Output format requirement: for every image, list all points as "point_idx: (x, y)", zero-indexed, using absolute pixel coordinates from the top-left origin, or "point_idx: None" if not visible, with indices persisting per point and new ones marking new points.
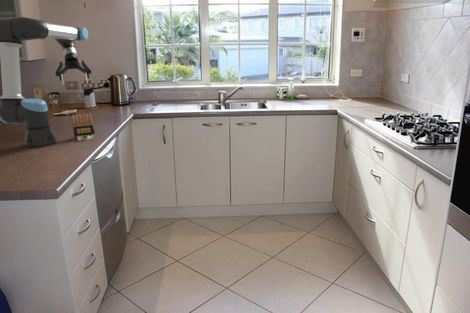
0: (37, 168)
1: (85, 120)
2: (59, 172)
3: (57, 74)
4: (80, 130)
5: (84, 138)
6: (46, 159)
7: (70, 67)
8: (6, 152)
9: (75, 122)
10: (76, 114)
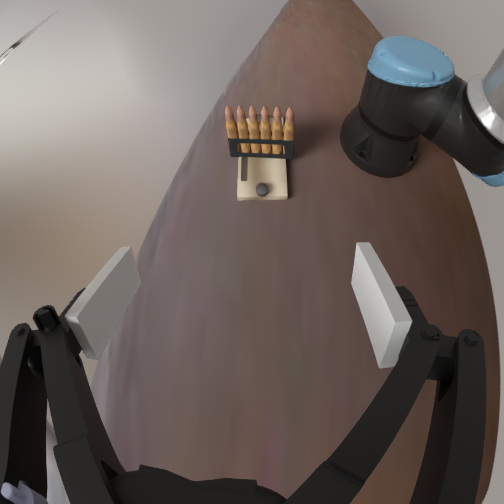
0: (336, 23)
1: (249, 123)
2: (302, 7)
3: (450, 339)
4: (272, 144)
5: None
6: (333, 43)
7: (247, 483)
8: None
9: (284, 125)
10: (276, 107)
